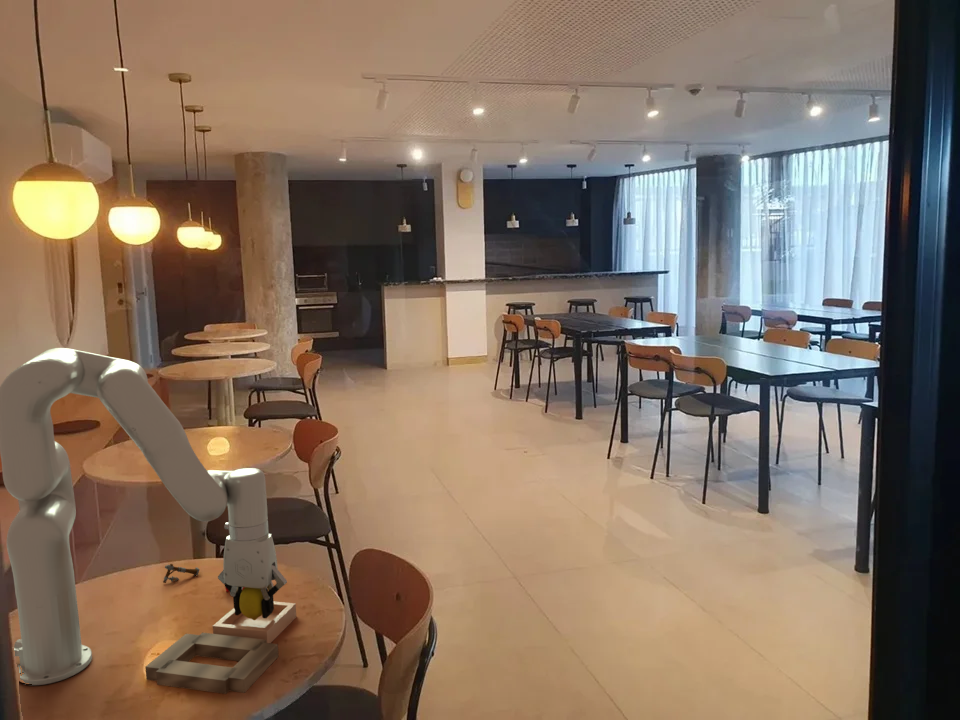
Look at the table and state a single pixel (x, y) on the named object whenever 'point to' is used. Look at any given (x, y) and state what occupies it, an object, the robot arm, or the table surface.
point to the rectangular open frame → (212, 678)
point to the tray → (257, 623)
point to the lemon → (251, 602)
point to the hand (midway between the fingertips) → (254, 612)
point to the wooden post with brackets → (179, 569)
